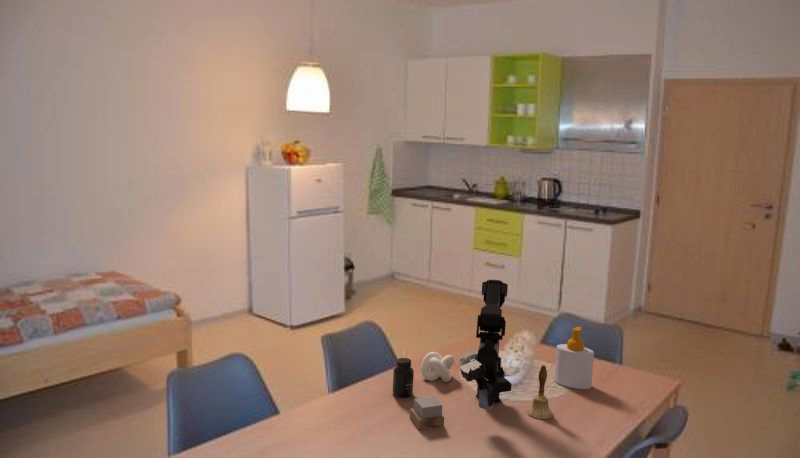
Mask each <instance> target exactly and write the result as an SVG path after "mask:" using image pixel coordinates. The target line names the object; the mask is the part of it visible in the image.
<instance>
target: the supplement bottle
mask: <svg viewBox="0 0 800 458" xmlns="http://www.w3.org/2000/svg"><path fill="white" fill-rule="evenodd" d="M395 364H396V366H395V367H394V368H393V370H392V371H393V373H392V374H393V375H392V394H393V396H395V397H397V398H400V399H401V398H402V399H404V398H405V399H406V398H410V397H412V395H413V392H414V372H415V371H414V369H413V367H412V360H411V358H407V357H399V358H397V359H396V363H395Z"/></svg>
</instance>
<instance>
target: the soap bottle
mask: <svg viewBox="0 0 800 458" xmlns="http://www.w3.org/2000/svg"><path fill="white" fill-rule="evenodd" d="M581 333H582V326H576V327H574V328H572V336H571V338H569V339H568V340H567V343H563V344H562V343H560V344H557V345H556V353H555V354H556V355H555V366H554V367H555V368H554V382H556V383H557V384H558V385H561V386H564V387H566V388H570V389H576V390H590V389H591V388H592V381H593V373H594V361H595V358H594V356H595V352H594V350H592V349H590V348H588V347H585V344H584V341H583V340H582V339H581Z"/></svg>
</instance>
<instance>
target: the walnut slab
mask: <svg viewBox="0 0 800 458" xmlns="http://www.w3.org/2000/svg"><path fill="white" fill-rule="evenodd" d="M409 419H410V421H411V422H412V423H413V424H414V426H415V427H416V428H417V429H418V431H422V430H431V429H435V428H436V429H438V428H443V427H445V416H444V415H443V414H442V416H438V417H432V418H425V419H422V418H421V417H420V416H419V415H418V414H417V413H416V411H415V410H414V407H413V408H410V409H409Z"/></svg>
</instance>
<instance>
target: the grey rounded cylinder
mask: <svg viewBox="0 0 800 458" xmlns="http://www.w3.org/2000/svg"><path fill="white" fill-rule="evenodd" d="M494 406H495V403H493V405H492V406H488V397H487V390H486V389H481V390H480V391H479V399H478V407H479V408H481V409H482V410H483V409H484V410H492V409H494Z"/></svg>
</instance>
